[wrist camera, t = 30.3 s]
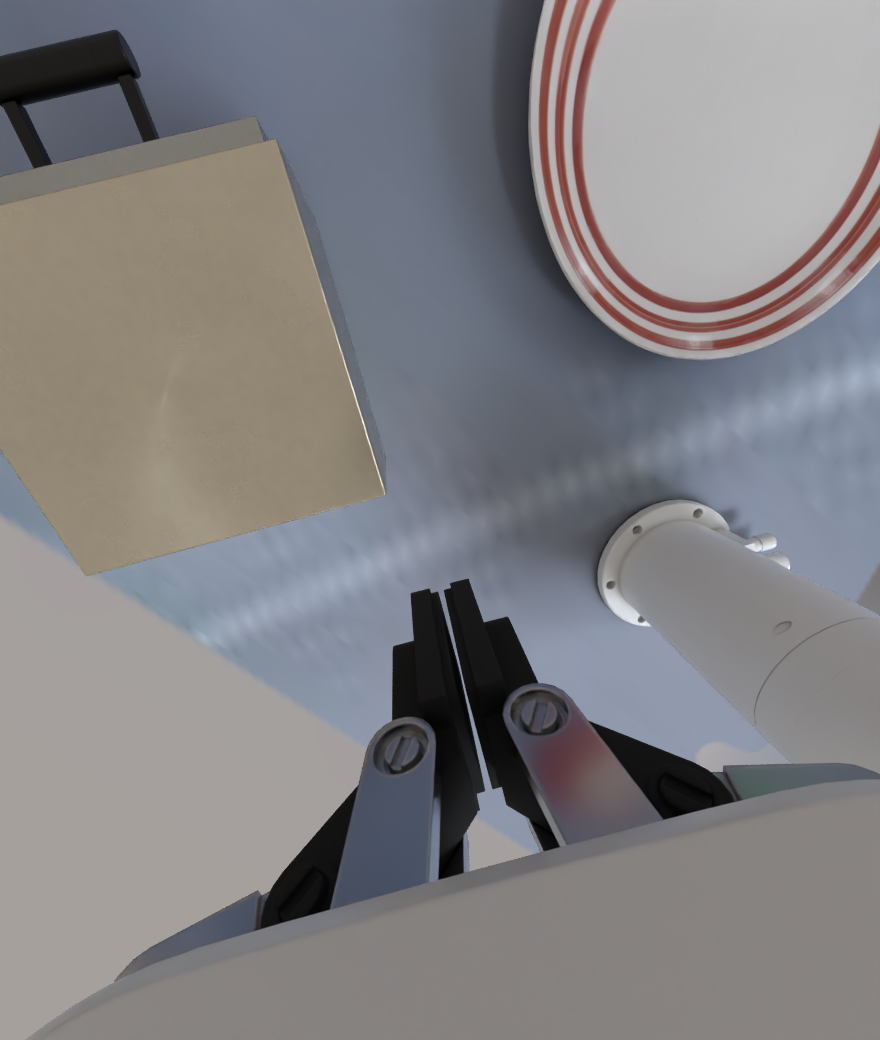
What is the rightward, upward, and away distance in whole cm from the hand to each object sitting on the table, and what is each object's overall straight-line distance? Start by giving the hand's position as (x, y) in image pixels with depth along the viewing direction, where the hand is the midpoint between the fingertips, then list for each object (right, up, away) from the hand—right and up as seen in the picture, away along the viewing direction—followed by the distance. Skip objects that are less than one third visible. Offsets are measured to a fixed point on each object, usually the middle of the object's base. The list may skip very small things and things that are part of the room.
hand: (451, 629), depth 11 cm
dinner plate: (+18, +28, +15) cm, 37 cm away
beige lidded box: (-14, +13, +16) cm, 25 cm away
